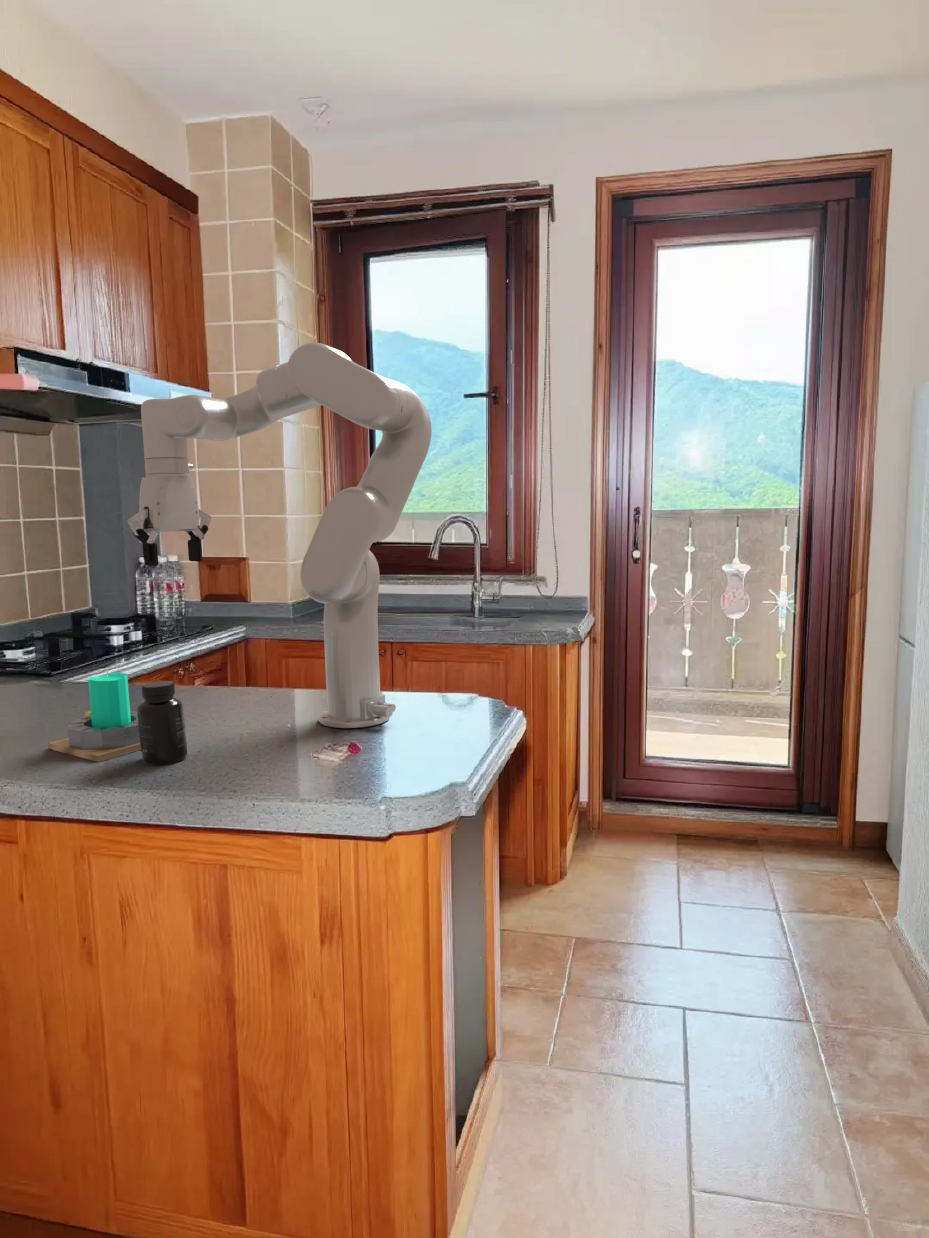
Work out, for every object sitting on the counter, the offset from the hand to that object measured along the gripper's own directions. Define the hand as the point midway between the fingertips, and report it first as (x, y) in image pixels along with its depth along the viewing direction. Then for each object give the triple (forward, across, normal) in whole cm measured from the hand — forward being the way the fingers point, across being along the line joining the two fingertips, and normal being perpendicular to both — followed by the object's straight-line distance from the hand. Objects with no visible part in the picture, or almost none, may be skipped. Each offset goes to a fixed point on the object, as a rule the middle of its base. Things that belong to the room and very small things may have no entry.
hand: (174, 563), depth 162 cm
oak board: (+28, +20, +7) cm, 35 cm away
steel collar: (+28, +20, +7) cm, 35 cm away
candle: (+28, +20, +7) cm, 35 cm away
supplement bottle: (+28, +21, +22) cm, 41 cm away
